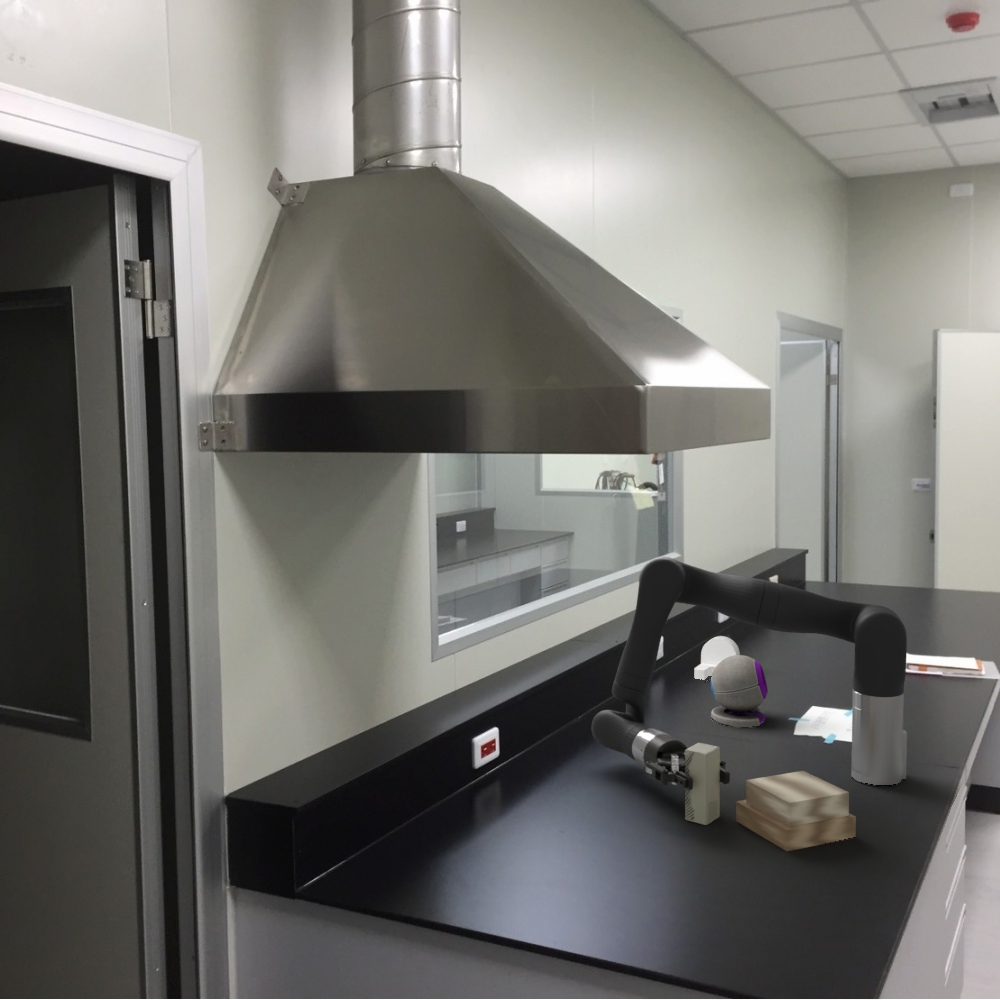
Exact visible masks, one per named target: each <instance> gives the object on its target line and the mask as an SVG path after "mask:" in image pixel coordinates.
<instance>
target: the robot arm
mask: <svg viewBox="0 0 1000 1000" xmlns="http://www.w3.org/2000/svg"><path fill="white" fill-rule="evenodd" d="M676 603H677V604H678V603H679V604H685V605H690V606H691V605H692V606H697V607H702V608H706V609H709V610H712V611H715V612H717V613H718V614H721V615H724V616H726V617H729V618H730V619H733V620H736V621H739V622H742V623H745V624H748V625H751V626H755V627H759V628H763V629H768V630H771V631H776V632H781V633H791V634H792V633H794V634H818V635H825V636H829V637H834V638H837V639H839V640H843V641H846V642H849V643H852V644H854V666H853V667H854V668H853V676H852V711H851V712H852V713H851V715H852V716H851V717H852V718H851V719H852V720H851V721H852V723H851V725H852V726H851V770H850V771H851V778H852V777H853V778H854V780H855V781H857V782H859V783H861V782H862V784H865V783H868V784H867V785H870V784H873V785H872V786H876V785H892V786H894V785H893V784H896V785H899V784H900V783H899V782H901V783H902V781H903V780H902V779H906V780H907V756H908V755H907V754H908V753H907V748H908V747H907V745H908V731H906V730H905V729H904V696H905V695H904V693H905V690H904V689H905V682H906V676H907V675H906V674H907V653H908V652H907V651H908V649H907V647H908V645H907V644H908V642H907V641H908V639H907V638H908V636H907V630H906V627H905V624H904V623H903V621H902V620H901V618H900V617H899V616H898V614H897V613H896V612H895V611H893V609H890V608H888V607H886V606H882V605H877V604H870V603H861V602H860V603H859V602H853V601H846V600H841V599H834V598H831V597H826V596H823V595H821V594H818V593H815V592H811V591H809V590H804V589H801V588H797V587H794V586H790V585H787V584H783V583H779V582H776V581H775V582H774V581H770V580H768V579H767V580H766V579H761V578H755V577H750V576H744V575H736V574H727V573H726V574H725V573H719V572H715V571H710V570H706V569H702V568H699V567H697V566H693V565H690V564H687V563H685V562H682V561H680V560H677V559H675V558H671V557H669V556H658V557H655V558H653V559H650V560H649V561H647V562H646V563H645V564H644V565H643V567H642V568H641V570H640V572H639V576H638V590H637V598H636V606H635V612H634V615H633V621H632V624H631V626H630V627H631V628H630V631H629V635H628V636H627V640H626V644H625V646H624V648H623V651H622V655H621V657H620V661H619V663H618V667H617V670H616V674H615V677H614V680H613V684H612V688H611V694H612V696H613V697H614V698H616V700H619V701H621V702H622V703H624V704H625V709H626V710H625V712H623V711H622V712H621V711H618V710H617V711H616V710H613V709H603V710H601V711H599V712H597V713H596V714H595V715H594V717H593V718H592V721H591V733H592V736H593V738H594V740H595V741H596V742H597V743H598V744H599V745H601V746H602V747H606V748H608V749H610V750H613V751H615V752H618V753H621V754H623V755H626V756H628V757H629V758H630V759H632V760H634V761H635V762H637V763H639V764H640V766H642V767H643V768H644V769H645V776H646V777H647V778H649V779H651V780H653V781H655V782H657V783H658V784H660V785H663V786H666V785H668V784H669V783H671V784H672V785H674V786H679V787H681V788H684V790H685V789H687V790H692V789H693V779H692V777H690V776H689V775H687V774H685V750H686V749H688V748H689V747H687V745H686V744H685V743H684V742H682V741H681V740H679V739H677V738H675V737H673V736H671V735H670V734H668V733H666V732H664V731H661V730H658V729H655V728H653V727H652V726H650V725H648V724H646V709H647V707H646V705H647V704H646V703H647V695H648V691H649V689H650V685H651V682H652V679H653V676H654V672H655V668H656V664H657V660H658V654H659V649H660V644H661V640H662V636H663V633H664V629H665V626H666V623H667V622H668V620H669V616H670V613H671V611H672V610H673V608H674V605H675V604H676ZM726 764H727V762H726V760H724V759H722V758H721V757H720V783H722V784H723V785H727V784H729V783H730V781H731V778H730V777H731V773H730V771H729V770H726ZM853 778H852V779H853ZM901 780H902V781H901ZM898 783H899V784H898Z"/></svg>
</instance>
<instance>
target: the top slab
mask: <svg viewBox="0 0 1000 1000" xmlns="http://www.w3.org/2000/svg"><path fill="white" fill-rule="evenodd" d="M745 800H746V803H748V804H749V805H751V806H753V807H755V808H757V809H758V810H760V811H762V812H764V813H765V814H767V815H769V816H771V817H773V818H774V819H776V820H778V821H780V822H782V823H783V824H785V825H787V826H789V827H792V826H797V825H803V824H808V823H813V822H818V821H824V820H829V819H834V818H840V817H845V816H849V814H850V792H849V791H847V790H845V789H843V788H840V787H838V786H837V785H834V784H832V783H830V782H828V781H825V780H823V779H821V778H820V777H817V776H815V775H812V774H810V773H809V772H807V771H805V770H798V771H793V772H787V773H782V774H776V775H775V774H774V775H769V776H763V777H756V778H750V779H745Z"/></svg>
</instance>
